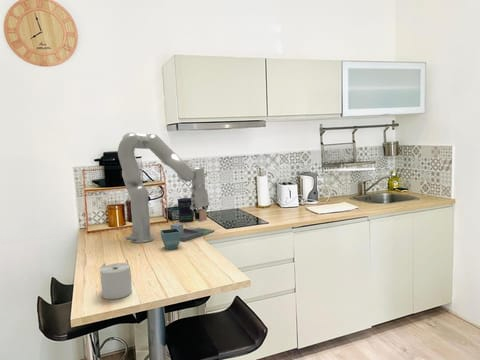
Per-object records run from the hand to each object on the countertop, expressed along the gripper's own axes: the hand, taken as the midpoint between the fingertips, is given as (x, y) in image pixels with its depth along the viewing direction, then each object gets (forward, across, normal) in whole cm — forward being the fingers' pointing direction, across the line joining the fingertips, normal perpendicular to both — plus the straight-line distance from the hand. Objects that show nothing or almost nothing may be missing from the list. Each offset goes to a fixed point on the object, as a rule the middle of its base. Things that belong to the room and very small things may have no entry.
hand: (200, 217), depth 229 cm
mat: (+8, 0, 0) cm, 8 cm away
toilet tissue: (+8, -80, -40) cm, 90 cm away
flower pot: (+8, -31, -11) cm, 34 cm away
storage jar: (+9, +14, +30) cm, 34 cm away
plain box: (+8, -15, +4) cm, 18 cm away
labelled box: (+2, 0, 0) cm, 2 cm away
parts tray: (+8, -13, 0) cm, 16 cm away
